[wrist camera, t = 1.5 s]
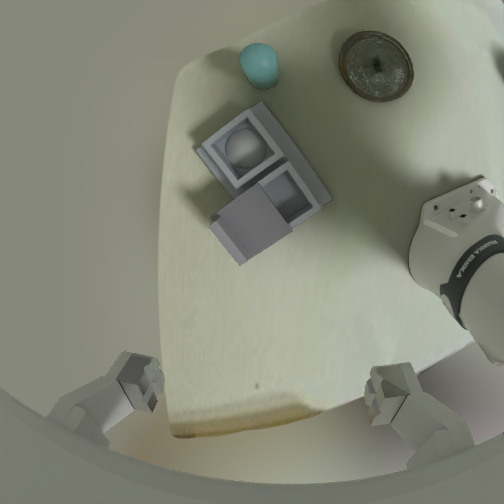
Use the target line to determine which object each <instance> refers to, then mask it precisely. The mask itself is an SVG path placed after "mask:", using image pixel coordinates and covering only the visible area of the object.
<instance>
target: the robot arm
mask: <svg viewBox="0 0 504 504" xmlns="http://www.w3.org/2000/svg"><path fill="white" fill-rule="evenodd" d="M435 206H436V209H435V210H434V207H435ZM409 267H410V271H411V274H412V277H413V278H414V280H415V281H416V283H417V284H418V285H420V286H421V287H423V288H425V289H427V290H429V291H431V292H433V293H434V294H435V295H437V296H438V297H439V298H440V299H441V300H442V302H443V304H444V306H445V307H446V309H447V310H448V312H449V313H450V314H451V316H452V317H453V318H455V319H456V321H457V322H458V323H459V324H460V325H461V326H462V327H463V328H464V329H466V330H468V331H469V332H470V334H471V335H472V336H473V338H474V339H475V341H476V342H477V343H478V345H479V346H480V348H481V349H482V351H483V352H484V354H485V355H486V357H487V358H488V360H489V361H490V362H491V363H492V364H494V365H496V366H504V205H503V203H502V202H501V201H500V198H499V195H498V193H497V191H496V189H495V187H494V185H493V184H492V183H491V182H490V181H489V180H488V179H487V178H484V177H483V178H480V179H478V180H476V181H473V182H471V183H469V184H467V185H464V186H462V187H460V188H457V189H455V190H453V191H451V192H448V193H446V194H444V195H441V196H439V197H437V198H434V199H432V200H430V201H427V202H426V203H424V205H423V206H422V210H421V217H420V224H419V227H418V229H417V231H416V233H415V235H414V238H413V240H412V243H411V247H410V252H409ZM159 365H160V363H159V361H158V358H155V357H150V356H145V355H140V354H136V353H131V352H126V351H124V352H122V353H121V354H120V355H119V357H118V358H117V360H116V361H115V362H114V364H113V365H112V367H111V368H110V370H109V371H108V373H107V374H106V376H105V377H103V376H101V377H99V378H97V379H95V380H94V381H92V382H90V383H88V384H86V385H84V386H82V387H80V388H78V389H76V390H74V391H72V392H70V393H68V394H66V395H64V396H62V397H60V398H59V400H58V401H57V402H56V404H55V405H54V407H53V408H52V410H51V411H50V413H49V414H48V416H47V417H44V416H43V415H41V414H39V413H38V412H36V411H35V410H33V409H31V408H30V407H28V406H27V405H25V404H24V403H22V402H21V401H20V400H18V399H16V398H15V397H14V396H12V395H11V394H10V393H8V392H7V391H6V390H5V389H3V388H2V387H0V504H504V432H503V433H501V434H499V435H497V436H495V437H493V438H491V439H489V440H487V441H485V442H483V443H481V444H479V445H476V446H475V444H474V441H473V438H472V436H471V433H470V431H469V428H468V425H467V423H466V421H465V420H464V419H463V418H461V417H460V416H458V415H457V414H456V413H454V412H453V411H451V410H450V409H449V408H447V407H446V406H445V405H443V404H442V403H440V402H439V401H438V400H436V399H435V398H434V397H432V396H431V395H429V394H428V393H426V392H424V393H423V391H422V389H421V387H420V384H419V382H418V379H417V377H416V374H415V372H414V370H413V368H412V365H411V364H410V363H409V362H407V363H400V364H391V365H382V366H373V368H372V369H371V371H370V376H371V378H370V379H369V380H368V381H367V382H366V385H365V392H364V395H365V402H366V404H367V405H368V406H369V407H370V408H369V411H368V417H369V422H370V426H374V425H382V424H390V423H391V426H392V427H393V428H394V429H395V430H396V431H397V432H398V433H399V434H400V435H401V436H402V437H403V439H404V440H405V441H406V442H407V443H408V444H409V445H410V446H411V447H412V448H413V449H414V450H415V451H416V453H415V454H414V455H413V456H412V458H410V459H409V461H408V462H407V464H406V465H407V470H404V471H400V472H395V473H391V474H386V475H381V476H376V477H370V478H364V479H358V480H349V481H340V482H329V483H313V484H271V483H269V484H268V483H253V482H243V481H234V480H226V479H219V478H212V477H207V476H201V475H196V474H191V473H186V472H182V471H178V470H174V469H169V468H166V467H162V466H158V465H155V464H152V463H148V462H145V461H142V460H139V459H135V458H133V457H130V456H127V455H124V454H122V453H119V452H116V451H114V450H111V449H109V446H110V444H111V442H110V440H109V439H108V438H107V437H106V435H105V434H104V432H105V431H106V430H108V429H109V428H111V427H112V426H113V425H115V424H116V423H117V422H118V421H120V420H122V419H123V418H124V417H126V416H127V415H128V414H130V413H131V412H132V411H134V409H136V410H140V411H145V412H149V413H153V410H154V408H155V406H156V404H157V402H158V400H157V397H156V396H158V395H159V394H161V393H162V391H163V388H164V383H165V378H164V374H163V372H162V371H161V370H160V369H159V368H158V367H159Z"/></svg>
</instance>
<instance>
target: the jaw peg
mask: <svg viewBox="0 0 504 504" xmlns="http://www.w3.org/2000/svg"><path fill="white" fill-rule="evenodd" d="M239 62H240V65H241V66H242V68H243V70H244V72H245V74H246V75H247V77H248V79H249V81H250V83H251V84H252V85H253V86H254V87H256V88H258V89H269V88H271V87H273V86H274V85H275V84H276V83H277V81H278V77H279V76H278V64H277V55H276V52H275V51H274V49H273V48H272V47H270V46H268V45H266V44H263V43H254V44H251V45H248V46H247V47H245V48H244V49H243V50H242V52H241V54H240V57H239Z"/></svg>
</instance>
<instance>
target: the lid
mask: <svg viewBox="0 0 504 504" xmlns="http://www.w3.org/2000/svg"><path fill="white" fill-rule="evenodd" d="M339 68H340V70H341V74H342V76H343V78H344V79H345V81H346V82H347V83H348V84H349V85H350V87H351V88H352V89H353V90H354V91H355V92H356V93H357V94H358V95H360V96H362V97H363V98H366V99H368V100H372V101H379V102H385V101H392V100H394V99H397V98H399V97H401V96H403V95H404V94H405V93H406V92H407V91H408V90H409V88H410V87H411V84H412V82H413V78H414V71H413V65H412V62H411V59H410V57H409V55H408V53H407V52H406V50H405V49H404V48H403V47H402V45H401V44H400V43H399V42H398V41H397V40H395V39H394V38H392V37H390V36H389V35H387V34H384V33H381V32H376V31H362V32H358V33H356V34H353V35H352V36H351V37H349V38H348V39H347V40H346V42H345V43H344V44H343V46H342V49H341V53H340V59H339Z"/></svg>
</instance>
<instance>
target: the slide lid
mask: <svg viewBox="0 0 504 504" xmlns="http://www.w3.org/2000/svg"><path fill="white" fill-rule="evenodd" d="M211 219H212V220H213V222H212V223H211V224H210V225H209V228H210V229H211V231H212V232H213V233H214V234H215V236H216V237H217V238H218V239H219V241H220V242H221V243H222V245H223V246H224V247H225V248H226V250H227V251H228V252H229V253H230V255H231V256H232V257H233V258H234V260H235V261H236V262H237V263H238V265H239V266H241V265H242V264H244V263H245V262H247V261H248V260H249V259H250V258H252V257H254V256H255V255H257V254H258V253H260V252H261V251H263V250H264V249H266V248H268V247H269V246H271V245H272V244H274V243H275V242H277V241H278V240H280V239H281V238H283V237H285V236H286V235H288V234H289V233H291V232H292V228H291V227H290V226H289V224H288V223H287V221H286V220H285V218H284V217H283V216H282V214H281V213H280V212H279V210H278V209H277V207H276V206H275V205H274V203H273V202H272V200H271V199H270V198H269V196H268V195H267V194H266V192H265V191H264V190H263V188H262V187H261V186H260V184H259V183H258V182H257V183H256V184H255V185H253V186H252V187H250V188H249V189H248V190H246V191H245V192H243V193H242V194H241V195H239V196H238V197H237V198H235V199H234V200H232V201H231V202H230V203H228V204H227V205H226V206H224V207H223V208H222V209H220V210H219V211H218V212H216V213H215V214H214V215H212V216H211Z"/></svg>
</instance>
